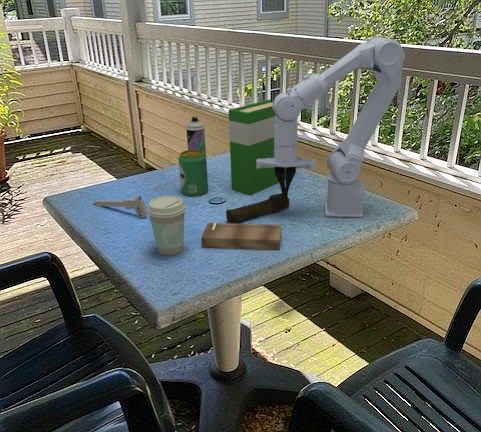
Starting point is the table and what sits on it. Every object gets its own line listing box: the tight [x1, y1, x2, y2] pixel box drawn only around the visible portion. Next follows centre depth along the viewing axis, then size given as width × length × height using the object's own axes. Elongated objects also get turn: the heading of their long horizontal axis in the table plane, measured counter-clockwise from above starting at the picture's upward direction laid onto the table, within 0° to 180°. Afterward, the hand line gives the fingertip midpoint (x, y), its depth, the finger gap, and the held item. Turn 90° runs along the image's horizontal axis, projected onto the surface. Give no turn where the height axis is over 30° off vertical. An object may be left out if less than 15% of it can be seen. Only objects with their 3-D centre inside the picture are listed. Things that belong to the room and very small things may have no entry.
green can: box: [178, 149, 209, 197], centre depth 142 cm, size 8×8×12 cm
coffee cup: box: [146, 195, 187, 256], centre depth 109 cm, size 8×9×12 cm
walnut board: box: [200, 222, 282, 251], centre depth 114 cm, size 18×8×3 cm, turn 83°
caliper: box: [92, 195, 148, 219], centre depth 132 cm, size 20×1×6 cm, turn 57°
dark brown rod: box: [225, 192, 290, 224], centre depth 127 cm, size 19×4×5 cm, turn 119°
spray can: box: [186, 115, 209, 179], centre depth 150 cm, size 6×6×20 cm
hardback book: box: [228, 99, 286, 197], centre depth 143 cm, size 18×7×24 cm, turn 137°
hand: (285, 194), depth 125 cm, fingers closed
